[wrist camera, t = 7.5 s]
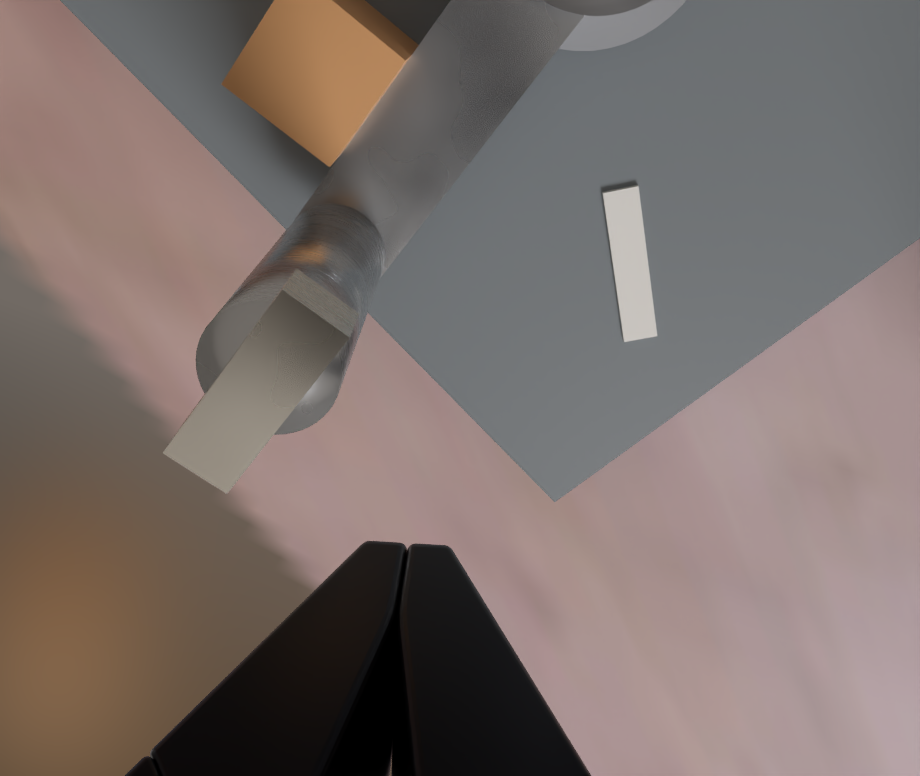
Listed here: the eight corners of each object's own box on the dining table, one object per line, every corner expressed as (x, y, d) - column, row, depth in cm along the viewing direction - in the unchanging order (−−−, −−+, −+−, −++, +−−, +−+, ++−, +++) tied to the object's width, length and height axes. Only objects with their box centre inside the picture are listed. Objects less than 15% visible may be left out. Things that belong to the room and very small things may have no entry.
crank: (581, -265, 13) (676, -509, 7) (733, -115, 14) (947, -204, 7) (234, 241, 16) (76, 397, 10) (371, 339, 17) (305, 543, 11)
